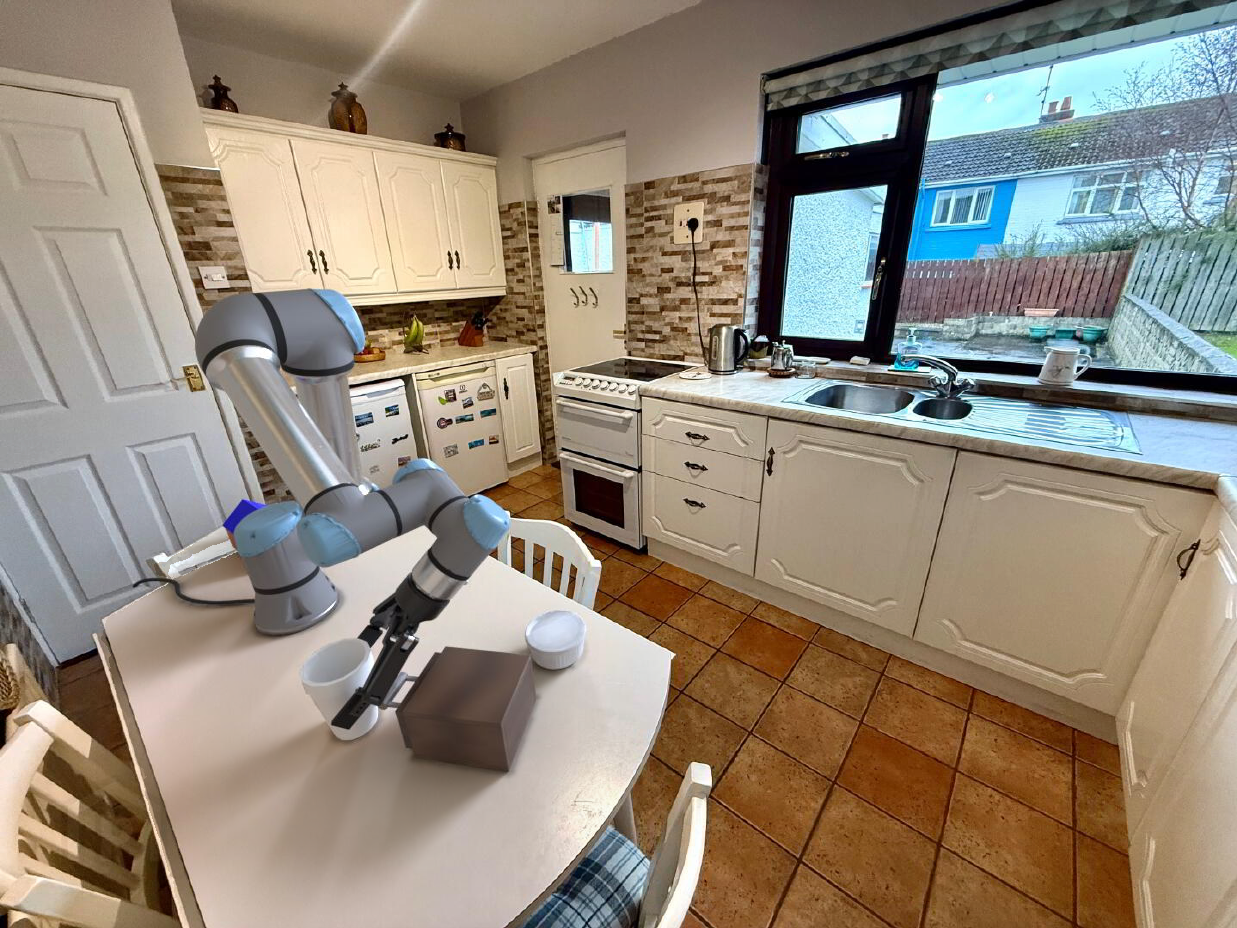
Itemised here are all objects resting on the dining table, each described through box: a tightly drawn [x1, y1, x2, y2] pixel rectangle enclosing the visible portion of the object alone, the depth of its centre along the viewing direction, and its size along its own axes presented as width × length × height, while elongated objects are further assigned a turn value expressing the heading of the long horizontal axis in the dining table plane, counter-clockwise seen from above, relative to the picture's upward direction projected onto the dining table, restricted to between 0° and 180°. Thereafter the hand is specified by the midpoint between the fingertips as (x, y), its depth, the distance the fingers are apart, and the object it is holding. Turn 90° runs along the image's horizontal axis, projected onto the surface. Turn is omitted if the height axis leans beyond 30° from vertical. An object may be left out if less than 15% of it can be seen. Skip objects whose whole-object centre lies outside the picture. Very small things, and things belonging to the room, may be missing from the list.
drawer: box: [378, 651, 441, 750], centre depth 75 cm, size 19×11×8 cm, turn 81°
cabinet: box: [403, 645, 537, 772], centre depth 74 cm, size 15×13×10 cm
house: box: [221, 498, 268, 551], centre depth 124 cm, size 12×20×12 cm, turn 54°
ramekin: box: [524, 609, 587, 670], centre depth 89 cm, size 11×11×5 cm
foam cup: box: [298, 637, 379, 741], centre depth 75 cm, size 10×9×13 cm
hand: (346, 689), depth 75 cm, fingers open, 13 cm apart
